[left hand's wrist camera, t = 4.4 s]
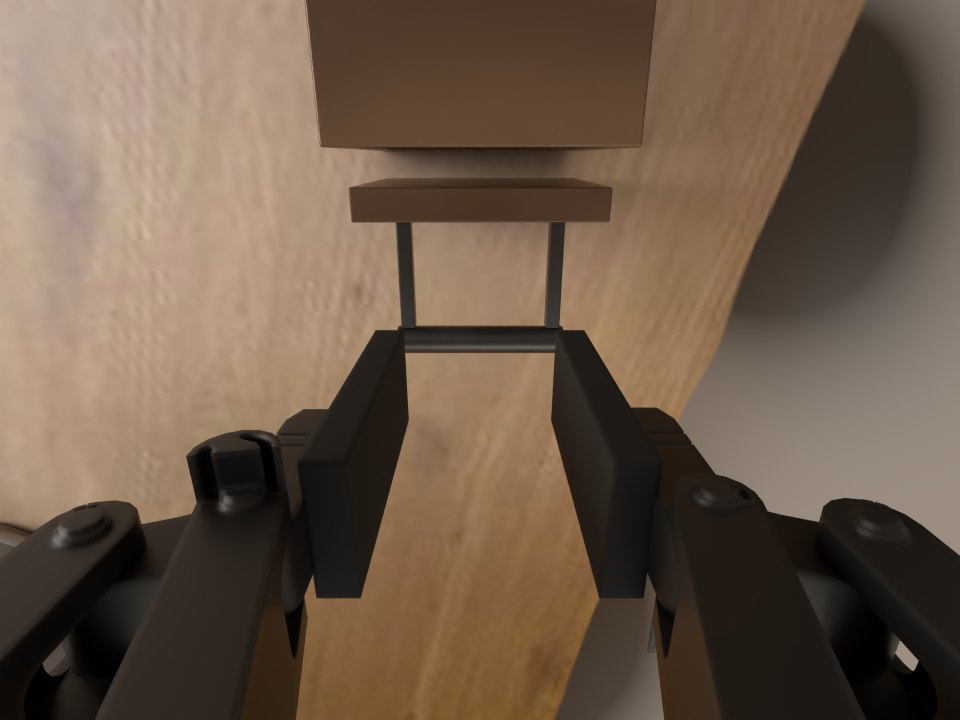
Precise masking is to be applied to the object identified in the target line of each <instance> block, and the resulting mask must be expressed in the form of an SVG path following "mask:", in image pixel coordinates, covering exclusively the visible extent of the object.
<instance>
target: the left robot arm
mask: <svg viewBox="0 0 960 720" xmlns="http://www.w3.org/2000/svg"><path fill="white" fill-rule="evenodd" d="M408 421H409V416H408V397H407V379H406V361H405V343H404V330H376V331H375V332H374V334H373V336H372V337H371V339H370V341H369V342H368V344H367V346H366V347H365V349H364V351H363V352H362V354H361V356H360V357H359V359H358V361H357V362H356V364H355V366H354V367H353V369H352V371H351V372H350V374H349V376H348V377H347V379H346V381H345V382H344V384H343V386H342V387H341V389H340V391H339V392H338V394H337V396H336V397H335V399H334V401H333V402H332V404H331V406H330V407H329V409H303V410H302V411H300V412H299V413H297V414H295V415H294V416H292V417H291V418H289V419H287V420H286V421H285V422H284V424H283V425H282V427H281V428H280V429H279V431H278V432H277V436H275V435H274V434H272V433H269V432H265V431H261V430H241V431H236V432H230V433H225V434H222V435H219V436H216V437H213V438H211V439H208V440H206V441H205V442H203V443H201V444H199V445H198V446H196V447H194V448H193V449H192V450H191V452H190V453H189V454H188V455H187V456H186V457H187V462H188V466H189V470H190V475H191V479H192V483H193V487H194V492H195V496H196V500H197V504H196V506H195V508H194V510H193V512H192V514H189V515H185V516H181V517H177V518H172V519H167V520H162V521H156V522H151V523H146V524H141V520H140V517H139V513H138V510H137V508H135V507H134V506H133V505H132V504H130V503H128V502H122V501H116V500H115V501H104V502H94V503H89V504H88V505H82V506H79V507H76V508H73V509H72V510H70V511H68V512H66V513H63V514H61V515H59V516H56V517H55V518H53V519H52V520H50V521H49V522H47V523H46V524H44V525H43V526H41V527H40V528H38V529H37V530H36V531H35V532H33V533H32V534H31V533H28V532H25V531H22V530H20V529H17V528H13V527H9V526H6V525H1V524H0V720H296V714H297V705H298V696H299V688H300V679H301V670H302V662H303V653H304V644H305V635H306V627H307V612H306V605H305V599H304V595H305V593H306V590H307V588H308V585H309V583H310V580H311V578H312V575H313V577H314V584H315V591H316V597H317V598H361V595H362V591H363V587H364V583H365V580H366V576H367V572H368V569H369V565H370V561H371V558H372V554H373V550H374V547H375V543H376V539H377V535H378V532H379V528H380V524H381V521H382V517H383V513H384V510H385V506H386V502H387V499H388V495H389V491H390V487H391V484H392V480H393V476H394V473H395V469H396V465H397V462H398V458H399V454H400V451H401V447H402V443H403V439H404V436H405V432H406V428H407V425H408ZM551 421H552V425H553V428H554V432H555V436H556V440H557V443H558V447H559V451H560V454H561V458H562V462H563V465H564V469H565V473H566V476H567V480H568V484H569V488H570V491H571V495H572V499H573V502H574V506H575V510H576V513H577V517H578V521H579V524H580V528H581V532H582V536H583V539H584V543H585V547H586V550H587V554H588V558H589V561H590V565H591V569H592V572H593V576H594V580H595V584H596V587H597V591H598V595H599V598H643V597H644V591H645V584H646V576H647V573H648V575H649V577H650V580H651V583H652V585H653V588H654V590H655V593H656V599H655V605H654V612H653V618H652V624H651V630H650V637H649V643H648V650H647V652H650V653H654V651H655V646H656V652H657V660H658V669H659V677H660V686H661V695H662V704H663V712H664V720H960V555H958V554H957V553H956V552H955V551H953V550H952V549H951V548H950V547H948V546H947V545H946V544H945V543H943V542H942V541H941V540H939V539H938V538H937V537H936V536H935V535H933V534H932V533H931V532H930V531H928V530H927V529H926V528H925V527H923V526H922V525H921V524H919V523H918V522H916V521H914V520H913V519H911V518H910V517H908V516H907V515H905V514H903V513H901V512H898V511H896V510H894V509H892V508H890V507H888V506H886V505H884V504H881V503H877V502H875V503H874V502H873V501H869V500H863V499H861V500H860V499H850V498H843V499H836V500H831V501H830V502H829V503H827V504H826V505H825V506H824V507H823V510H822V513H821V517H820V520H819V522H816V521H811V520H805V519H800V518H795V517H790V516H784V515H780V514H776V513H772V512H768V511H767V509H766V507H765V505H764V503H763V502H762V500H761V499H760V498H759V497H758V495H757V494H756V493H755V492H754V491H753V490H751V489H750V488H748V487H747V486H745V485H744V484H742V483H740V482H737V481H735V480H732V479H730V478H728V477H724V476H719V475H716V474H715V473H714V472H713V470H712V469H711V468H710V466H709V465H708V463H707V462H706V461H705V459H704V458H703V457H702V455H701V454H700V453H699V451H698V450H697V449H696V447H695V446H694V445H692V444H691V443H692V442H691V441H690V439H689V438H688V437H687V435H686V434H684V431H683V430H682V428H681V427H680V426H679V424H678V423H677V422H676V420H675V419H674V418H672V417H671V416H669V415H668V414H666V413H664V412H663V411H661V410H660V409H658V408H631V407H630V406H629V404H628V402H627V401H626V399H625V397H624V396H623V394H622V392H621V391H620V389H619V387H618V386H617V384H616V382H615V381H614V379H613V377H612V376H611V374H610V372H609V371H608V369H607V367H606V366H605V364H604V362H603V361H602V359H601V357H600V356H599V354H598V352H597V351H596V349H595V347H594V346H593V344H592V342H591V341H590V339H589V337H588V336H587V334H586V333H585V331H584V330H556V343H555V361H554V379H553V397H552V415H551ZM900 641H901V642H902V643H903V644H904V645H905V646H906V647H907V648H908V649H909V650H910V652H911V653H912V654H913V655H914V656H915V657H916V658H917V659H918V660H919V661H918V664H917V666H916V669H915V670H914V671H912V670H910V669H909V668H908V667H907V666H906V665H905V664H904V663H903V662H902V661H901V660H900V659H899V657H898V656H897V655H896V654H895V652H896V650H897V647H898V644H899V642H900Z"/></svg>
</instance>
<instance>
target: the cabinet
mask: <svg viewBox="0 0 960 720" xmlns="http://www.w3.org/2000/svg"><path fill="white" fill-rule="evenodd" d="M305 9H306V19H307V28H308V38H309V48H310V57H311V67H312V77H313V87H314V96H315V106H316V116H317V126H318V135H319V144H320V146H321V147H327V148H344V149H362V150H599V149H617V148H634V147H640V146H641V144H642V136H643V126H644V116H645V107H646V97H647V87H648V78H649V68H650V58H651V49H652V39H653V29H654V20H655V10H656V0H305Z"/></svg>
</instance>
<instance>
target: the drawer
mask: <svg viewBox="0 0 960 720" xmlns="http://www.w3.org/2000/svg"><path fill="white" fill-rule="evenodd" d="M349 199H350V211H351V221H352V222H396V236H397V254H398V271H399V289H400V306H401V324H402V326H399V327H398V330H404V343H405V353H555V343H556V330H563V327H562V326H559V321H560V303H561V286H562V268H563V251H564V234H565V222H609V221H610V210H611V199H612V188H611V187H607V186H603V185H599V184H594V183H590V182H586V181H582V180H578V179H573V178H387V179H383V180H379V181H375V182H371V183H366V184H362V185H358V186H354V187H350V188H349ZM412 222H549V232H548V253H547V275H546V296H545V318H544V324H545V326H416V302H415V280H414V258H413V236H412Z"/></svg>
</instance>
